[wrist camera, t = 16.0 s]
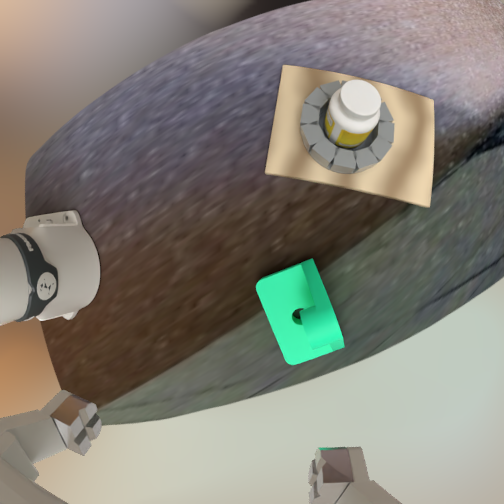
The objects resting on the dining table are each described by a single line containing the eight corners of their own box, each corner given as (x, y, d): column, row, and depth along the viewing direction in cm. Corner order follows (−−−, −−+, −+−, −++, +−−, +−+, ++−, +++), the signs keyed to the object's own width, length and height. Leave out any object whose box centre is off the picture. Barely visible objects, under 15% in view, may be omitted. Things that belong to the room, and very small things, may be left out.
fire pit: (295, 165, 34) (295, 157, 30) (306, 88, 33) (307, 74, 29) (380, 182, 33) (390, 177, 29) (386, 105, 31) (395, 93, 27)
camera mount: (256, 278, 37) (242, 297, 27) (311, 257, 36) (318, 268, 26) (288, 358, 38) (285, 398, 27) (341, 339, 36) (355, 375, 26)
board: (265, 174, 36) (264, 172, 35) (283, 68, 34) (283, 64, 33) (425, 207, 33) (429, 207, 32) (430, 103, 31) (433, 100, 30)
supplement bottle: (373, 132, 31) (399, 102, 21) (345, 159, 32) (364, 134, 22) (342, 103, 31) (357, 64, 22) (313, 128, 32) (320, 93, 23)
